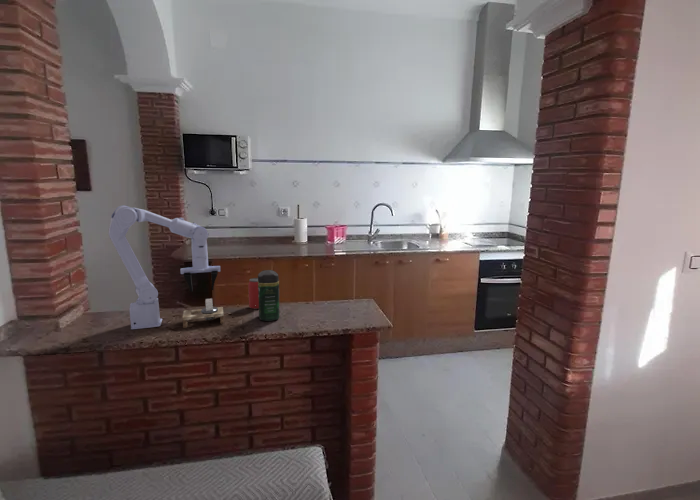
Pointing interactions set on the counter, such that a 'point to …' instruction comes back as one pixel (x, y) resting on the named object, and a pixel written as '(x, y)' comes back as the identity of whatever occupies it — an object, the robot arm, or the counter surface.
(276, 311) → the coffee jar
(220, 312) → the keyhole bridge
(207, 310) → the hanger peg
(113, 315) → the counter surface
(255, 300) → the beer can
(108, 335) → the counter surface
